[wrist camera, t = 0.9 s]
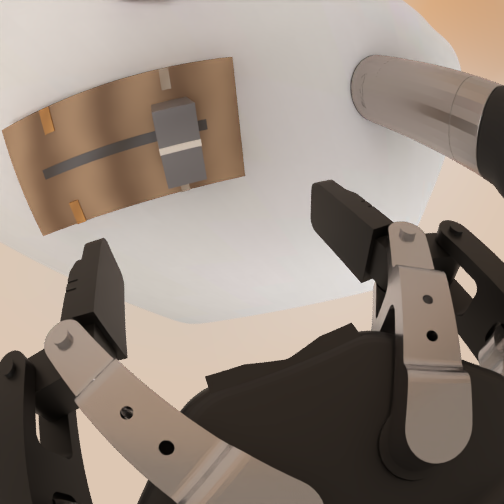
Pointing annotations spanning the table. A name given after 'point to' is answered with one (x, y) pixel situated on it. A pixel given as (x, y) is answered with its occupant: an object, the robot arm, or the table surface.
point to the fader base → (121, 143)
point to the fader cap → (179, 141)
